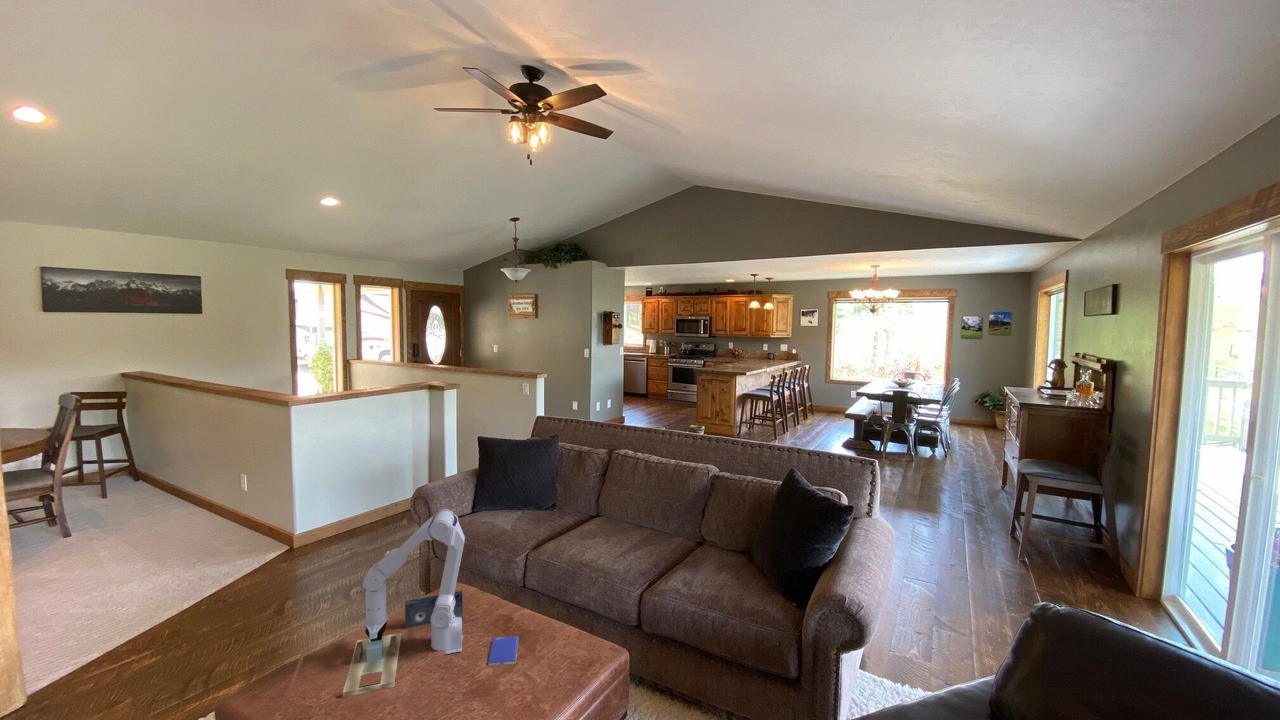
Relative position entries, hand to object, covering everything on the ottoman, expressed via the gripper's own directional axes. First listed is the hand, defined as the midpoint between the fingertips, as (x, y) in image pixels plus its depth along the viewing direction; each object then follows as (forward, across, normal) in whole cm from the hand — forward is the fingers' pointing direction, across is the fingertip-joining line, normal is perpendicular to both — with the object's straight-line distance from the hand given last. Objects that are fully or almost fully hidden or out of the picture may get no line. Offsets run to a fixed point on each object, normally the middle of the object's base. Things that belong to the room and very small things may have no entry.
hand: (376, 647), depth 159 cm
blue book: (+3, +11, +38) cm, 39 cm away
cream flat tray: (+2, +5, 0) cm, 5 cm away
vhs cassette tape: (+3, -11, +16) cm, 20 cm away
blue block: (+1, +3, 0) cm, 4 cm away
